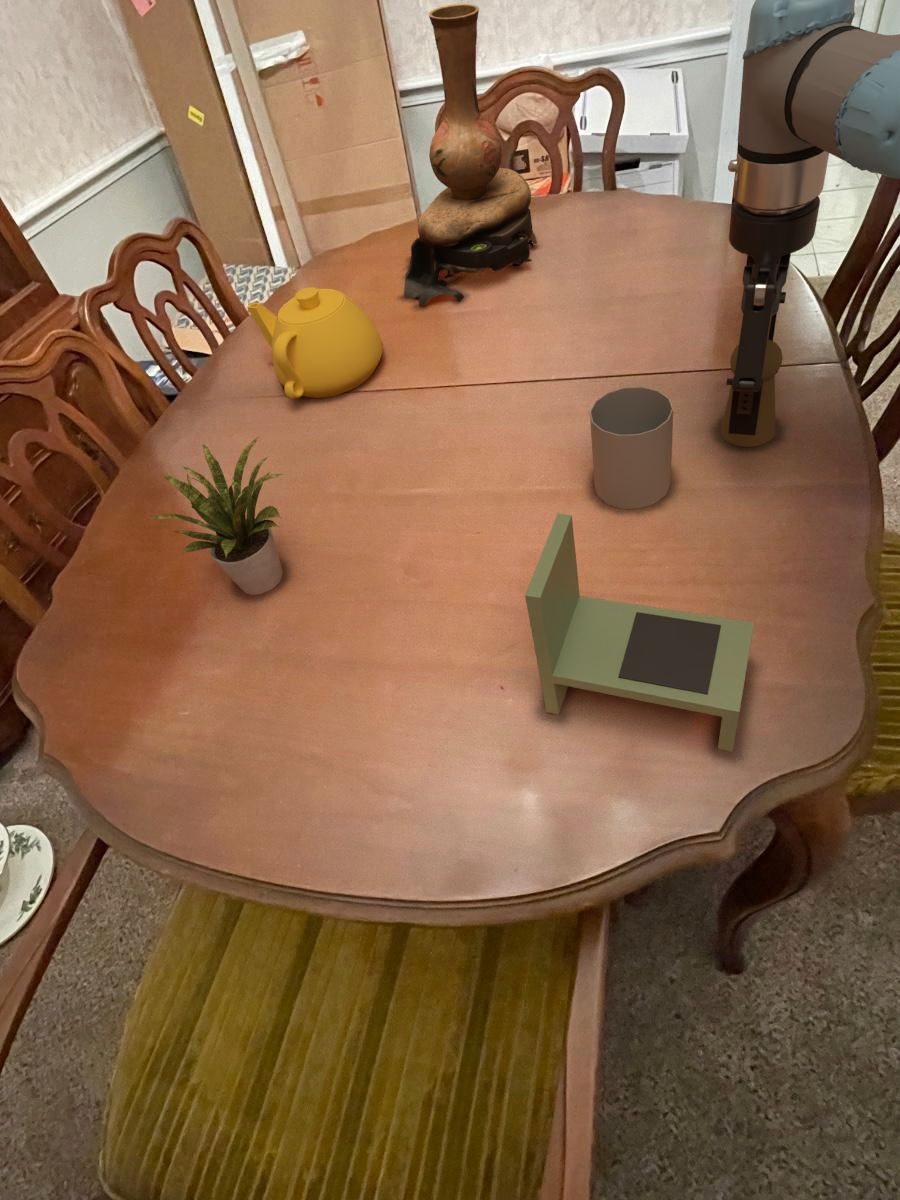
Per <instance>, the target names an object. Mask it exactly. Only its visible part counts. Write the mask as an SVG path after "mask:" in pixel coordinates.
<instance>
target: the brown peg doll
mask: <svg viewBox="0 0 900 1200" xmlns="http://www.w3.org/2000/svg"><path fill="white" fill-rule="evenodd" d="M738 348H739V344H737V346H736V347H735V348H734V349H733V351H732V353H731V356H730V361H729V362H730V363H729V365H730V369H731V372H732V374H733V377H732V379H734V376H735V369H736V362H737V355H738ZM782 364H783V351H782V348H781V347H780V345H779V344H778V343H777V342H776V341H774V340H773V341H772V340H768V343H767V349H766V355H765V361H764V368H763V374H762V378H763V386H762V392H761V399H760V406H759V413H758V420H757V427H756V433H755V435H742V434H728V432H729V423H730V413H731V404H732V395H733V389H732V385H730V389H729V393H728V397H727V401H726V405H725V409H724V413H723V417H722V421H721V424H720V428H719V432H720V433H719V434H720V436H721V438H722V439H723V440H724V441H726V442H727V443H729V444H731V445H733V446H736V447H743V448H751V447H752V448H753V447H758V446H762V445H764V444H767V443H768V442H770V441H771V440H772V439H773V438H774V437H775V434H776V431H777V430H776V380H775V379H776V377H775V376H776V375H777V374H778V373H779V371H780V369H781V367H782Z"/></svg>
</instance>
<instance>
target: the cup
mask: <svg viewBox="0 0 900 1200" xmlns="http://www.w3.org/2000/svg"><path fill="white" fill-rule="evenodd" d="M589 422H590V424H589V425H590V438H591V453H592V454H591V455H592V468H593V484H594V488H595V493H596V497H598V498H599V499H601V501H603V502H604V503H605V504H606V505H609V506H612V507H615V508H617V509H621V510H629V509H630V510H639V509H643V508H646V507H649V506H652V505H656V504H657V503H658V502H660V500H662V499H663V498H664V497H665V496H667V495H668V492H669V489H670V488H671V487H670V486H671V484H672V463H673V461H672V459H673V455H672V454H673V433H674V432H673V430H674V428H673V427H674V407H673V405H672V401H671V399H670V398H669V397H668V396H667V395H665V394H664V393H662V392H661V391H660V390H657V389H652V388H650V387H644V386H631V387H630V386H629V387H622V388H618V389H615V390H612V391H608V392H606V393H605V394H603V395H602V396H601V397H599V398H598V399H596V400H595V401H594V403H593V405H592V407H591V408H590V410H589Z"/></svg>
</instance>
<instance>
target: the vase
mask: <svg viewBox="0 0 900 1200" xmlns="http://www.w3.org/2000/svg"><path fill="white" fill-rule="evenodd" d="M479 12H480V7H479V6H477V5H476V4H471V3H456V4H455V3H454V4H448V5H444V6H443V5H442V6H439V7H436V8H434V9H432V10H431V11H429V13H428V17H429V20H430V24H431V25H432V29H433V34H434V40H435V45H436V46H435V47H436V50H437V53H438V61H439V66H440V72H441V79H442V87H443V94H444V116H443V119H442V122H441V123H440V125H439V127H438V128H437V130H436V132H435V133H434V134H433V136H432V139H431V142H430V146H429V153H428V154H429V155H428V157H429V163H430V166H431V169H432V172H433V174H434V176H435V177H436V179H437V180H438V182H440V183H441V184H442V185H444V186H445V187H446V188H445V189H443V190H442V191H441V192H440V193H439V194H438V195H437V196H436V197H435V198H434V199H433V200H432V201H431V202H430V204H429V205H428V206H427V207H426V209H425V210H424V211H423V212H422V214H421V216H420V217H419V220H418V223H417V235H418V237H417V238H416V239H415V240H413V242H411V245H410V261H409V265H408V268H407V271H406V272H405V276H404V278H405V279H404V287H403V293H404V294H403V297H404V298H405V299H414V300H416V298H418V307H419V308H420V307H422V308H423V307H424V306H425V305H426V304H427V302H428V301H430V300H432V299H433V298H436V297H438V296H440V295H448V296H449V295H450V296H451V297H454V298H455V299H456V301H457V302H458V303H460V302H461V301H462V300H464V298H465V296H464V294H463V293H462V292H460V291H458V290H456V289H452V288H449V287H448V286H450V285H451V284H452V283H454V281H452V282H451V283H448V282H447V281H446V280H445V279H450V278H456V276H457V275H458V274H460V273H467V274H468V273H470V274H477V273H482V272H485V271H486V270H488V269H490V270H491V271H492V272H496V273H497V272H498V271H501V270H502V269H505V268H506V267H508V266H509V265H511V266H512V267H513V268H515V267H521V266H522V265H523V264H524V263H530V262H532V261H533V259H532V258H531V257H530V254H531V253H530V247H532V248H533V247H535V245H537V244H538V239H537V237H536V234H535V233H534V231H533V221H532V214H531V209H530V206H531V203H532V190H531V188H530V185H529V184H528V182H527V180H526V179H525V177H523V176H522V175H521V174H520V173H519V172H517V171H515V170H513V169H510V168H505V167H501V164H502V156H503V149H502V148H503V147H502V143H501V139H500V137H499V134H498V133H497V131H496V129H494V127H493V126H492V125H491V124H490V123H489V121H487V120H486V119H485V117H484V116H483V115H482V113H481V110H480V107H479V101H478V92H477V38H478V19H479ZM444 270H446V271H447V272H446V273H447V274H446V275H445V276H444V279H439V277H440V273H441V272H442V271H444ZM458 279H459V277H457V278H456V279H455V281H457V280H458Z"/></svg>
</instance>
